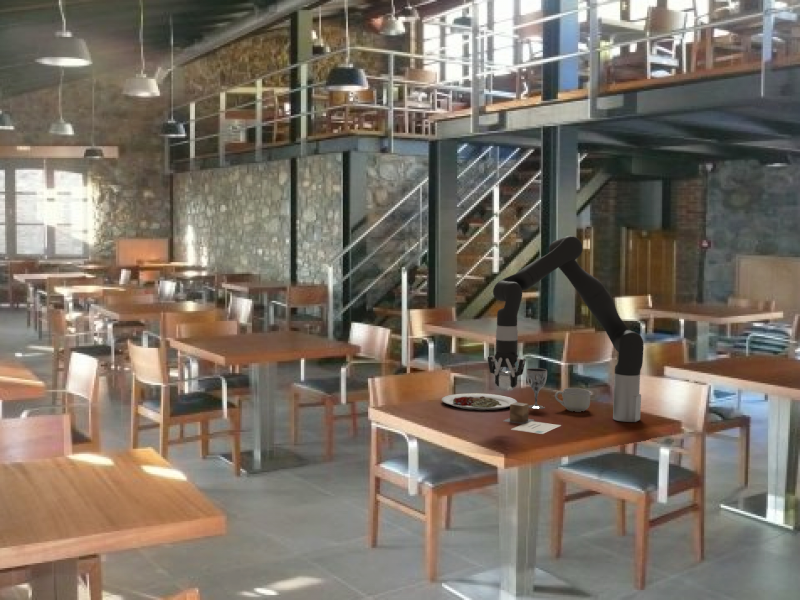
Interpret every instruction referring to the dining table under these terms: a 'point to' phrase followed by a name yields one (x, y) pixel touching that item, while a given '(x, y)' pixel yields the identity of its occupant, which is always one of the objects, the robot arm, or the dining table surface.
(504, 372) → the tin
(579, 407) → the teacup
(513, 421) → the coaster
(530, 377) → the wine glass
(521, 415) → the walnut block
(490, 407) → the plated food
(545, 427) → the envelope
